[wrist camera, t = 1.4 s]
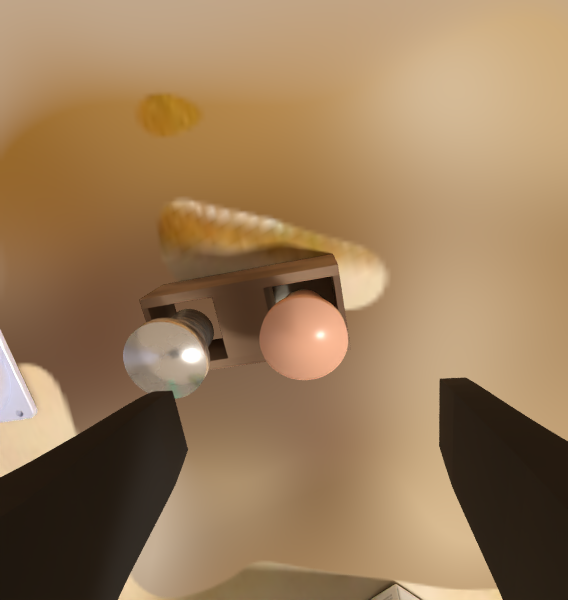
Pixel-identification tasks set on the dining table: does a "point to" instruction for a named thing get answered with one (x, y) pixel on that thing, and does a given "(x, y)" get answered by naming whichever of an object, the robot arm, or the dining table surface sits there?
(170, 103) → the dining table surface
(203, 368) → the grey plug
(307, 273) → the plug block
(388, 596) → the tea box
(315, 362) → the terracotta plug
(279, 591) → the dining table surface
